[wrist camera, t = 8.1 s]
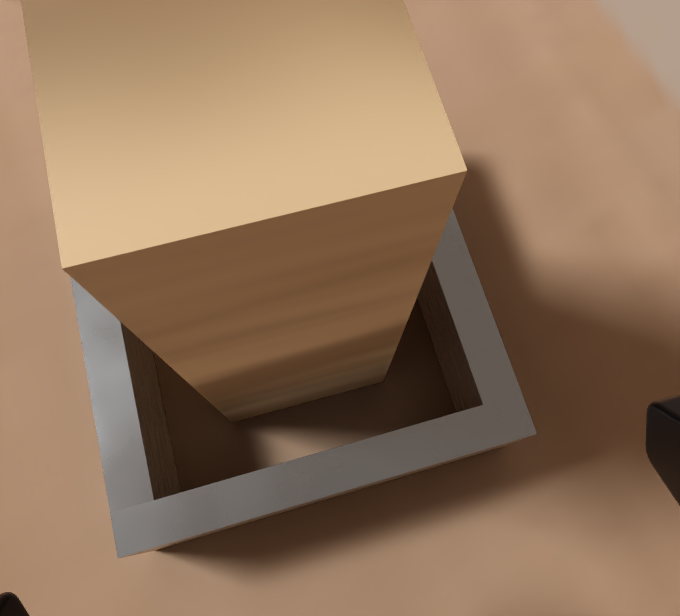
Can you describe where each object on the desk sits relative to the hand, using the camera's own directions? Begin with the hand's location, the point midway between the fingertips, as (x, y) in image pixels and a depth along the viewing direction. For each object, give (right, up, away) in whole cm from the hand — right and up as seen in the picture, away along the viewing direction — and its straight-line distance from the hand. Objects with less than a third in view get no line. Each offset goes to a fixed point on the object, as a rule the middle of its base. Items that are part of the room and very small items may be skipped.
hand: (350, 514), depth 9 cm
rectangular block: (-2, +2, +10) cm, 11 cm away
